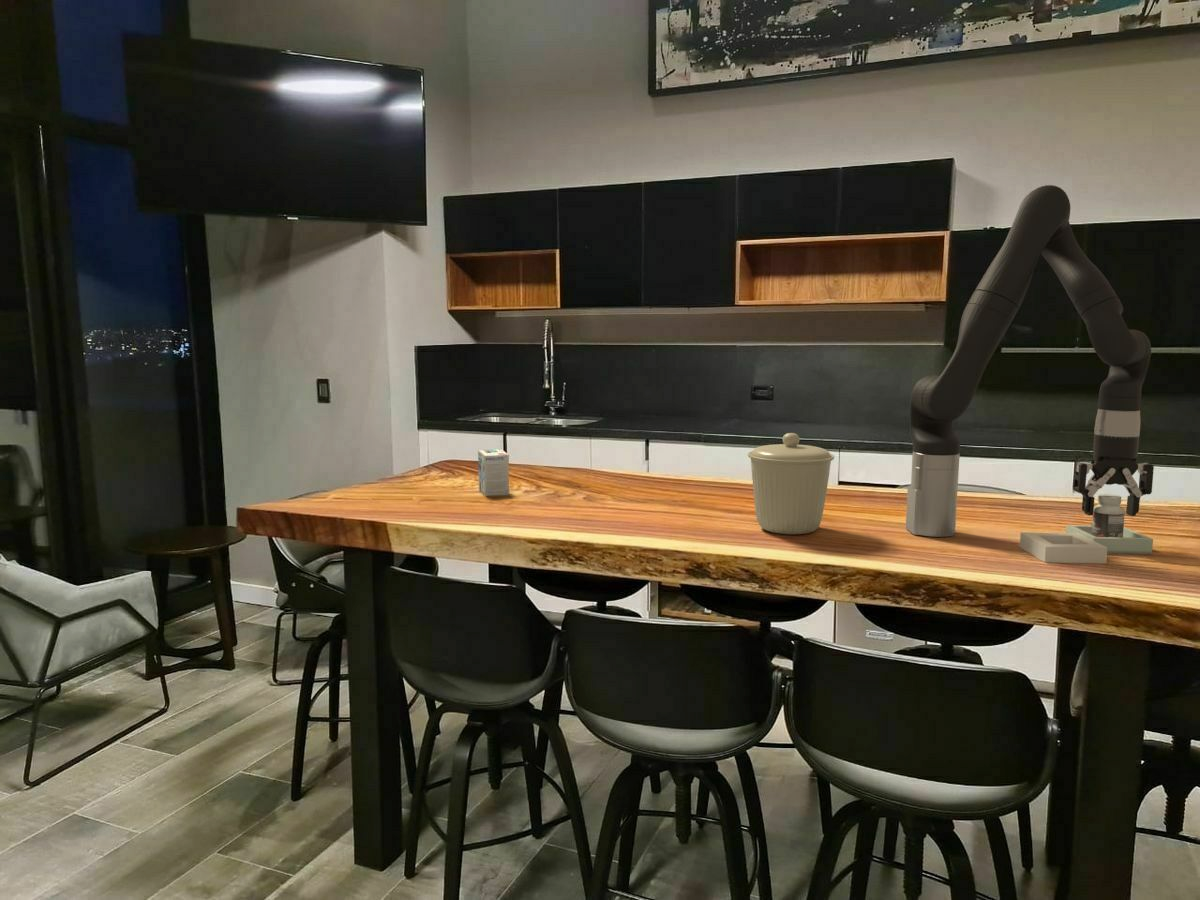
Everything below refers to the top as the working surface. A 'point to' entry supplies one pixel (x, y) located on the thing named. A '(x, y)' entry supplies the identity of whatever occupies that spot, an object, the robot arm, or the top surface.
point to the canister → (790, 485)
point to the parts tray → (1117, 540)
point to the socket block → (1063, 547)
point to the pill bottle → (1108, 516)
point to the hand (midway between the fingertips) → (1109, 514)
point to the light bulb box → (493, 472)
